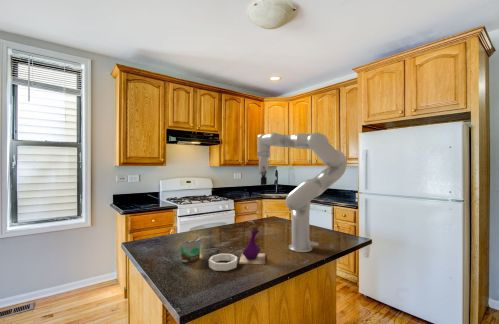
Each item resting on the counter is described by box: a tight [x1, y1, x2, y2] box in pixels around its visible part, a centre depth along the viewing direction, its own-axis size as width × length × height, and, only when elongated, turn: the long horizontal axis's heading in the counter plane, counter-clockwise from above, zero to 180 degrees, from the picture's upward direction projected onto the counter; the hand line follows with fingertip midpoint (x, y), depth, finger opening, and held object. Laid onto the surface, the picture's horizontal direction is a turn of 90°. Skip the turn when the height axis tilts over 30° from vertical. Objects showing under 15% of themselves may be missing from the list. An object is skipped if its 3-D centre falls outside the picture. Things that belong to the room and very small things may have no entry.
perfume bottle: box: [242, 219, 262, 260], centre depth 124 cm, size 8×8×18 cm
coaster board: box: [238, 252, 266, 265], centre depth 124 cm, size 12×12×1 cm
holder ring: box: [208, 253, 238, 272], centre depth 117 cm, size 12×12×3 cm
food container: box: [179, 236, 203, 265], centre depth 122 cm, size 12×6×10 cm, turn 148°
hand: (263, 184), depth 151 cm, fingers open, 9 cm apart
